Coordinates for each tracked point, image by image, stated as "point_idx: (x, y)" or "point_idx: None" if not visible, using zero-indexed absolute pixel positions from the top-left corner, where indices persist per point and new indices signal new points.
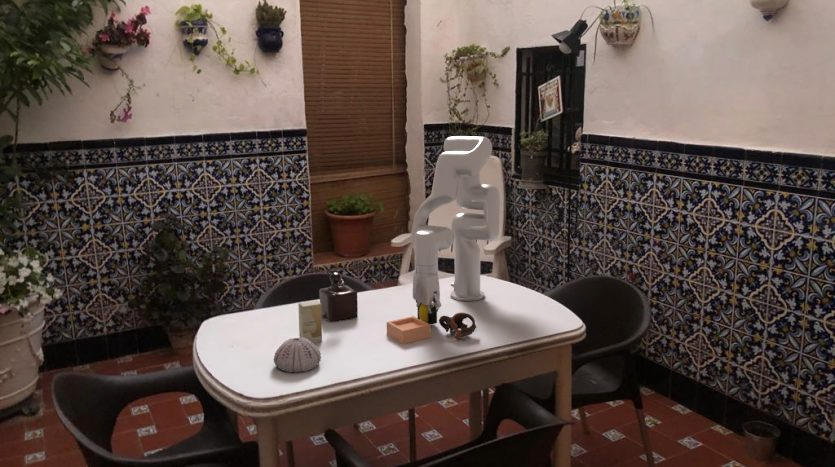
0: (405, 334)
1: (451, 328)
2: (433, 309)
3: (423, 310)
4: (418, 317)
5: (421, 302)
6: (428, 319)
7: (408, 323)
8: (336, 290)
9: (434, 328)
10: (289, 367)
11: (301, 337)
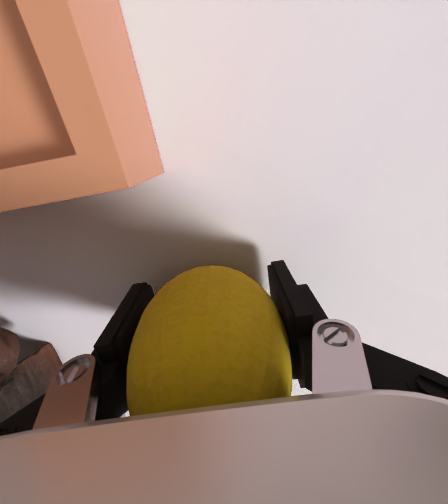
0: None
1: (30, 363)
2: (17, 423)
3: (151, 334)
4: (273, 267)
5: (100, 430)
6: (125, 304)
7: (17, 68)
8: None
9: (122, 294)
10: None
11: None
